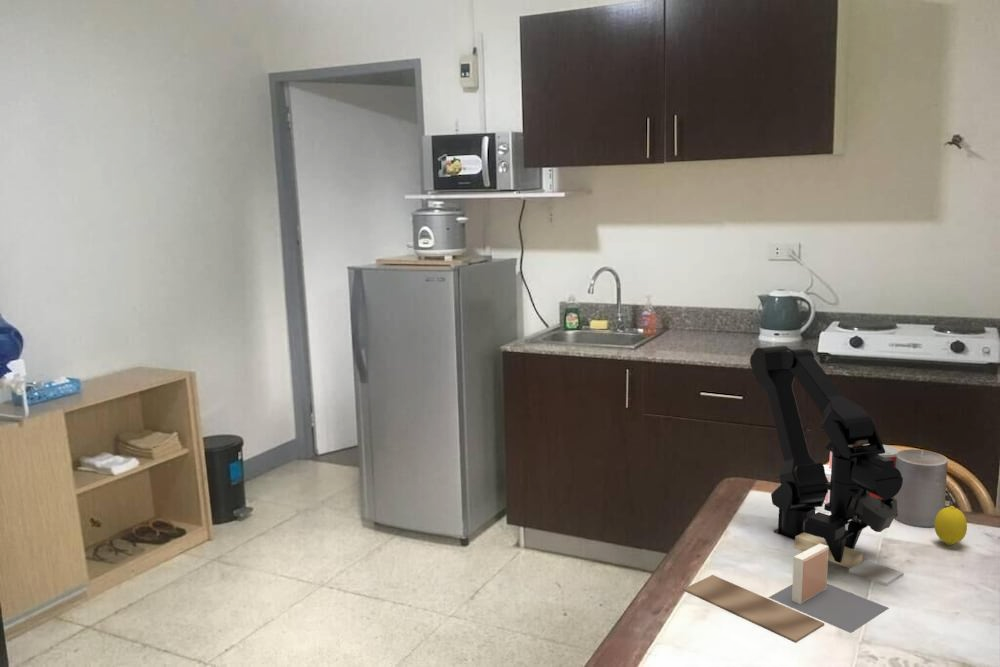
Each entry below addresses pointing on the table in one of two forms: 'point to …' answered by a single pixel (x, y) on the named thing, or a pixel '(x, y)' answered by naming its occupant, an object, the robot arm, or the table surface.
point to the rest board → (755, 608)
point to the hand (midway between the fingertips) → (842, 558)
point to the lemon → (950, 525)
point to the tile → (810, 573)
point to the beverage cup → (828, 476)
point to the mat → (834, 607)
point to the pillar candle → (921, 487)
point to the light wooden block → (852, 561)
